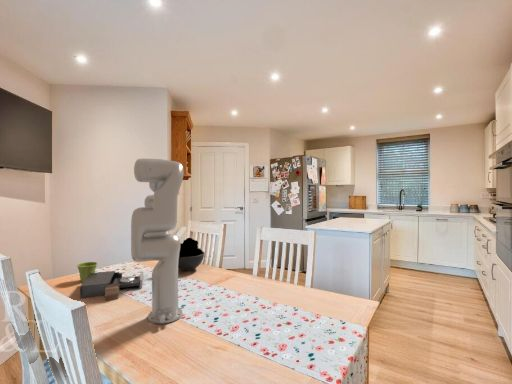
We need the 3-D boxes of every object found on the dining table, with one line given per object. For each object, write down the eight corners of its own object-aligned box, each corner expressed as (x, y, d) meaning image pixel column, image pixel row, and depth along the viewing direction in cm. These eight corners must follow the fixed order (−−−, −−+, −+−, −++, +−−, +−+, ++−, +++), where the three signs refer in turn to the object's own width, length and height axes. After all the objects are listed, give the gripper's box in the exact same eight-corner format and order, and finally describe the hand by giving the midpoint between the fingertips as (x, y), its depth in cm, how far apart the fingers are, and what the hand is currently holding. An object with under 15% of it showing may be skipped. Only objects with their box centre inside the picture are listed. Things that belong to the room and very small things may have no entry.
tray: (142, 287, 135) (141, 279, 135) (111, 291, 130) (111, 283, 130) (143, 279, 148) (143, 271, 148) (115, 282, 143) (115, 274, 143)
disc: (118, 284, 134) (118, 281, 134) (120, 280, 141) (120, 277, 141) (134, 283, 137) (134, 279, 137) (135, 278, 143) (135, 275, 143)
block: (117, 298, 123) (117, 287, 123) (105, 300, 121) (105, 289, 121) (119, 294, 127) (119, 284, 127) (107, 296, 126) (107, 285, 126)
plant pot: (101, 277, 151) (101, 262, 151) (89, 283, 142) (89, 267, 142) (85, 277, 152) (85, 261, 152) (72, 283, 143) (72, 266, 143)
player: (117, 293, 128) (117, 282, 128) (80, 298, 123) (80, 286, 123) (122, 280, 147) (122, 270, 147) (90, 283, 142) (90, 273, 142)
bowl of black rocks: (206, 264, 176) (206, 235, 176) (202, 274, 156) (201, 241, 156) (174, 265, 175) (174, 236, 175) (166, 275, 155) (166, 242, 155)
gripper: (139, 220, 137) (139, 256, 137) (171, 218, 142) (171, 254, 142) (140, 218, 144) (140, 253, 144) (170, 217, 149) (170, 251, 149)
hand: (156, 253), depth 143 cm, fingers closed
